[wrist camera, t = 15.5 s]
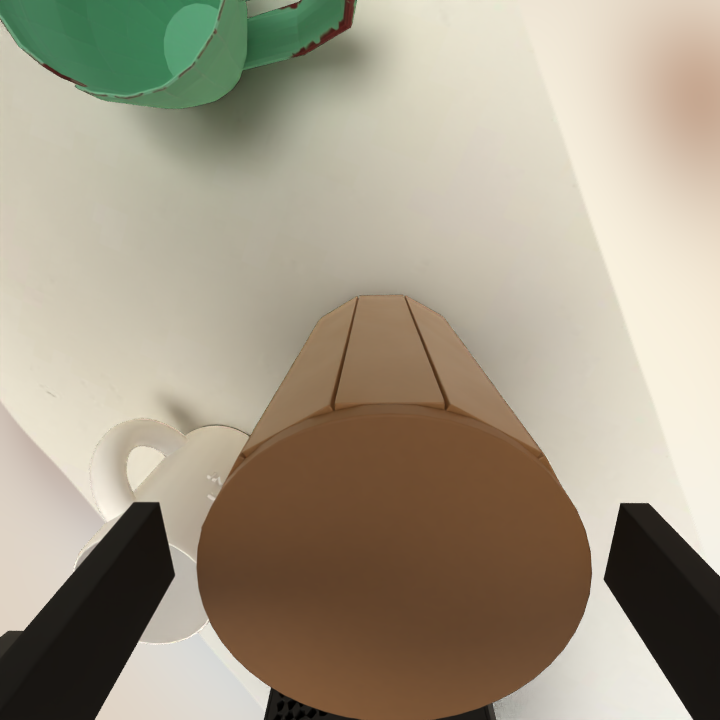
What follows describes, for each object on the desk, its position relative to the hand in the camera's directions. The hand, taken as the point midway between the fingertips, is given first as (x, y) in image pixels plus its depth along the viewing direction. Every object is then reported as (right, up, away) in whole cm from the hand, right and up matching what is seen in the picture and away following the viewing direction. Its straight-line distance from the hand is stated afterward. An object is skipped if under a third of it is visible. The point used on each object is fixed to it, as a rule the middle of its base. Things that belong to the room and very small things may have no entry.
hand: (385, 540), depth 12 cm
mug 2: (-13, -2, +21) cm, 25 cm away
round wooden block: (+1, +4, +14) cm, 15 cm away
